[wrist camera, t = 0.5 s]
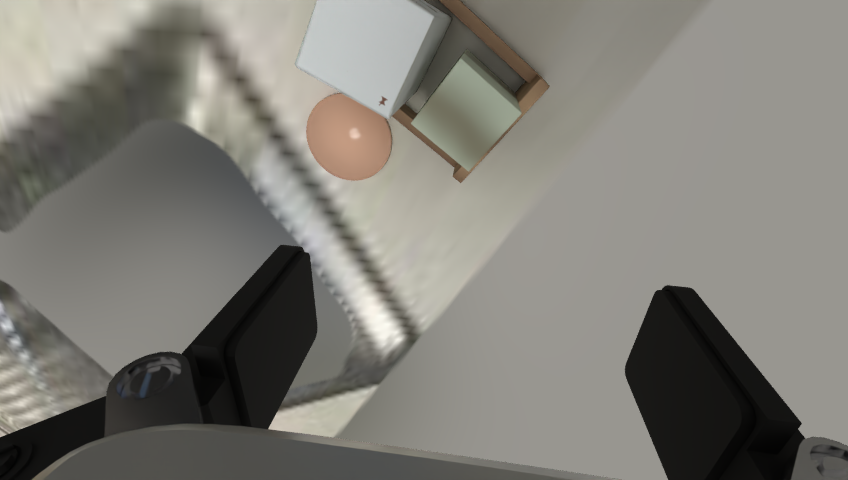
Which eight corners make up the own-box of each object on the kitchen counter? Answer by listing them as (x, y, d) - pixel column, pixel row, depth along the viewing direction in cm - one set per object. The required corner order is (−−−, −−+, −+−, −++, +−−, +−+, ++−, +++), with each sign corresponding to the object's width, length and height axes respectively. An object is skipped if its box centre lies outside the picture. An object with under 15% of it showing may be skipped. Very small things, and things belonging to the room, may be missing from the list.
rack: (387, -68, 33) (355, -94, 25) (542, 78, 36) (557, 95, 29) (321, 47, 38) (278, 56, 30) (463, 165, 42) (457, 200, 34)
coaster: (336, 73, 39) (334, 73, 38) (409, 132, 41) (408, 134, 40) (294, 142, 43) (291, 144, 42) (361, 194, 45) (360, 196, 44)
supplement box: (455, 16, 35) (439, 17, 24) (416, 93, 39) (387, 124, 28) (380, -30, 34) (330, -52, 23) (348, 53, 38) (291, 68, 27)
